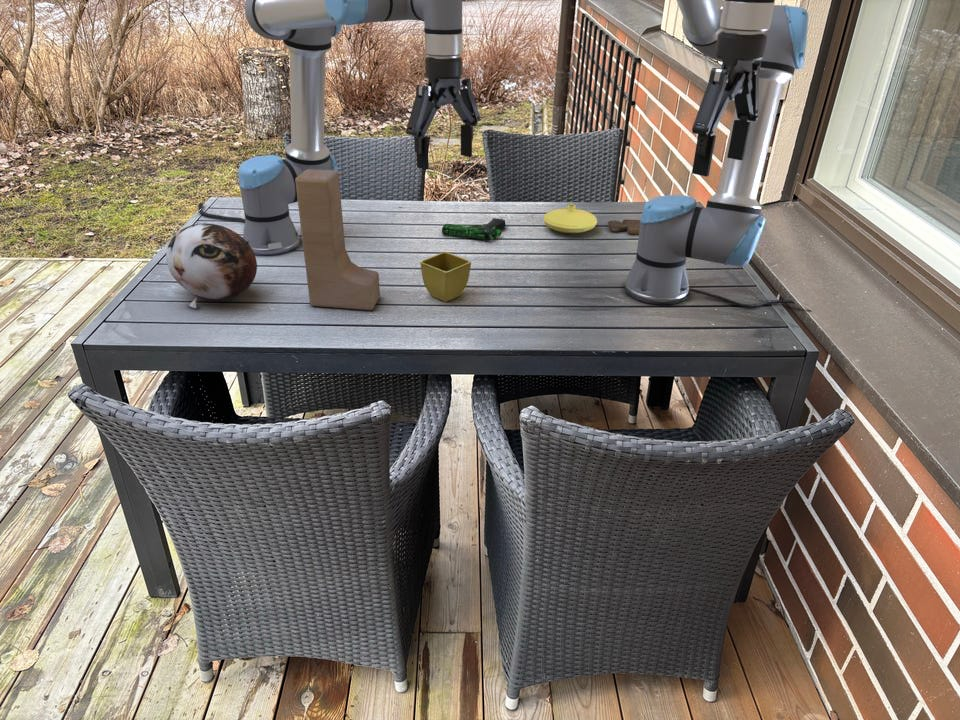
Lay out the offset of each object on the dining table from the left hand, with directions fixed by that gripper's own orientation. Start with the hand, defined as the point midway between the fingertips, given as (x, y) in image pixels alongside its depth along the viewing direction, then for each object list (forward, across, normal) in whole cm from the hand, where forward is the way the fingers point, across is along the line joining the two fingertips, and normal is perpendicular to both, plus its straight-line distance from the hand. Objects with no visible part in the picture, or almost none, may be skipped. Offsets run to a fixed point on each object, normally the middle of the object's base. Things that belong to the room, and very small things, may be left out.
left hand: (445, 162), depth 154 cm
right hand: (-8, -8, +57) cm, 59 cm away
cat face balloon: (+32, +37, -40) cm, 63 cm away
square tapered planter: (+32, 0, 0) cm, 32 cm away
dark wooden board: (+32, -74, +13) cm, 82 cm away
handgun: (+32, -37, -23) cm, 54 cm away
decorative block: (+32, +18, -15) cm, 40 cm away
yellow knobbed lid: (+32, -58, -5) cm, 66 cm away
